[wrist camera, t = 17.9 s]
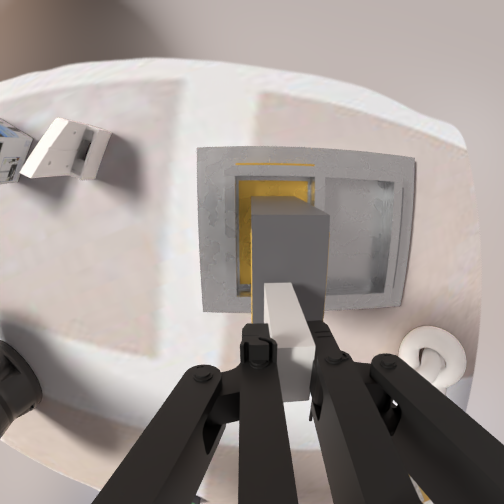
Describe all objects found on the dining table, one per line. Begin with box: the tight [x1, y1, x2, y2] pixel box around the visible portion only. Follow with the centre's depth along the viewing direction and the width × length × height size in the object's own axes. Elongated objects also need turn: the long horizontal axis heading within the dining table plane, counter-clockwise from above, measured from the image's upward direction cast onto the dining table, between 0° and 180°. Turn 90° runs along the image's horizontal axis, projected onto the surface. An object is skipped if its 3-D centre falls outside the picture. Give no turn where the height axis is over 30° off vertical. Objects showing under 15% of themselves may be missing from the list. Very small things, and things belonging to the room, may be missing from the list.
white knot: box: [398, 326, 467, 396], centre depth 32 cm, size 11×12×9 cm
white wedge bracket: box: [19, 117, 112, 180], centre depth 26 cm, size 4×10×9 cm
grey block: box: [251, 196, 330, 324], centre depth 24 cm, size 4×8×14 cm, turn 0°
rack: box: [197, 146, 415, 312], centre depth 30 cm, size 24×18×4 cm
